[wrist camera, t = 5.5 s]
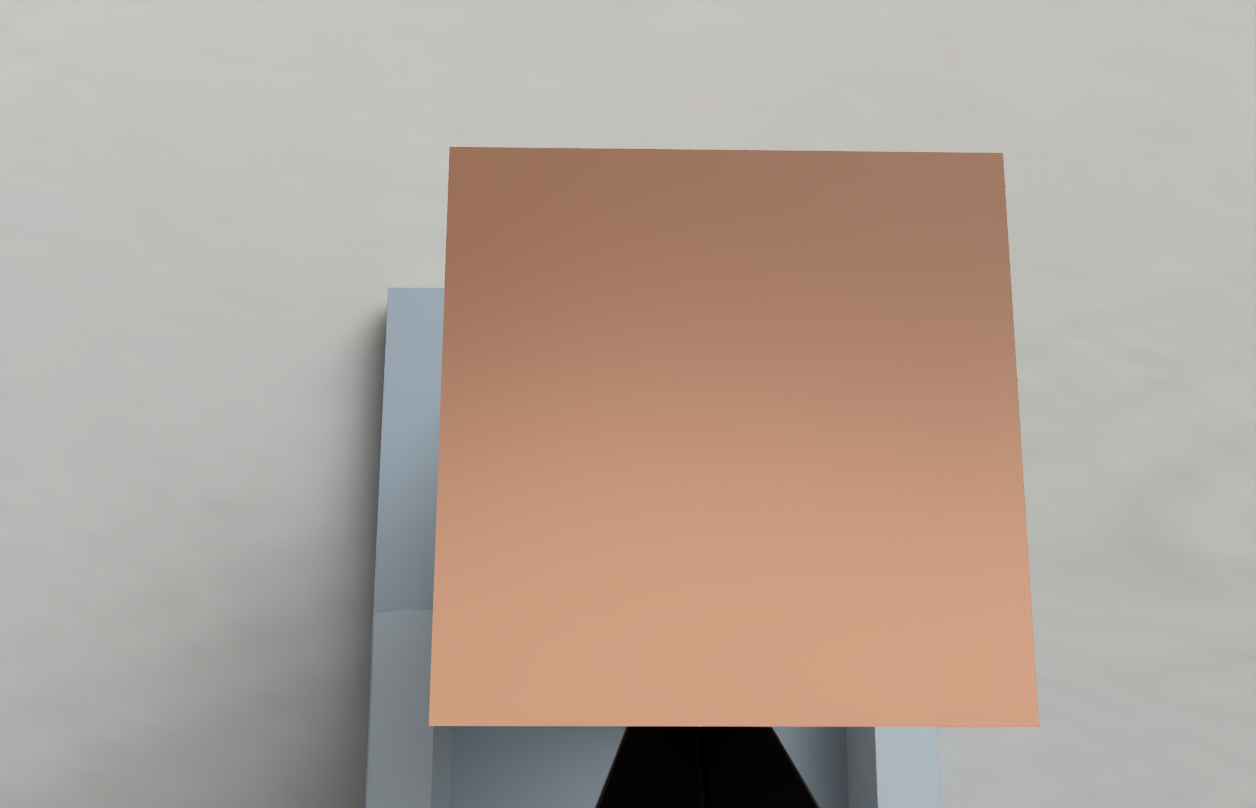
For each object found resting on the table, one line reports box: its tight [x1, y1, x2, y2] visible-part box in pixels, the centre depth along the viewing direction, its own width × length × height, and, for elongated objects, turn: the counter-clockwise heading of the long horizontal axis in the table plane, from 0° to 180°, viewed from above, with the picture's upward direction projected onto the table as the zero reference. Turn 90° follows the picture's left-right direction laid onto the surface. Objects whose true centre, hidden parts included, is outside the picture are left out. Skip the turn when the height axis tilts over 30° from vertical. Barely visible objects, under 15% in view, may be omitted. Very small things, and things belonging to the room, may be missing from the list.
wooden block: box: [429, 147, 1039, 727], centre depth 12 cm, size 6×5×12 cm
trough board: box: [364, 288, 941, 808], centre depth 17 cm, size 18×10×3 cm, turn 0°
